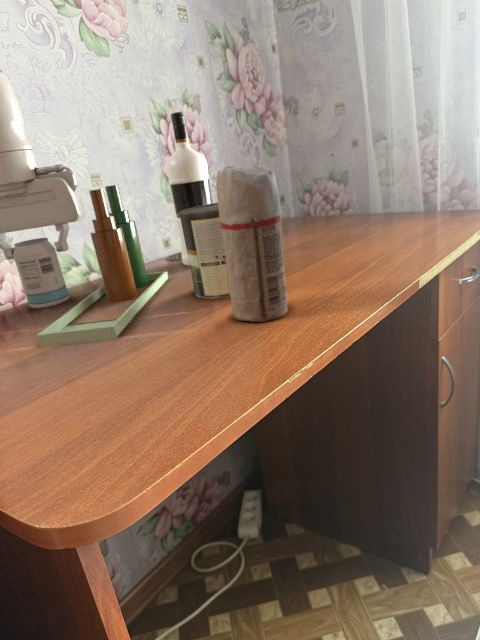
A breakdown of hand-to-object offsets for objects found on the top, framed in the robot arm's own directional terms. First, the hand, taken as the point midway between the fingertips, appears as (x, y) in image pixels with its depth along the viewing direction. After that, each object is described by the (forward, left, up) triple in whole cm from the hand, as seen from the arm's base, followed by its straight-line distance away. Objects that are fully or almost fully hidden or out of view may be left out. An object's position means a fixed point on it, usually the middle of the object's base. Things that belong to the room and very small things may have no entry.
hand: (37, 254), depth 88 cm
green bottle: (+14, +6, -9) cm, 18 cm away
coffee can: (+33, -4, -10) cm, 34 cm away
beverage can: (0, 0, -10) cm, 10 cm away
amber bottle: (+14, -2, -9) cm, 17 cm away
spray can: (+40, -18, -10) cm, 45 cm away
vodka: (+25, +22, -10) cm, 34 cm away
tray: (+14, -7, -10) cm, 18 cm away
